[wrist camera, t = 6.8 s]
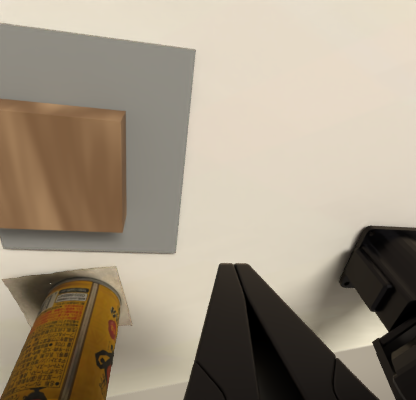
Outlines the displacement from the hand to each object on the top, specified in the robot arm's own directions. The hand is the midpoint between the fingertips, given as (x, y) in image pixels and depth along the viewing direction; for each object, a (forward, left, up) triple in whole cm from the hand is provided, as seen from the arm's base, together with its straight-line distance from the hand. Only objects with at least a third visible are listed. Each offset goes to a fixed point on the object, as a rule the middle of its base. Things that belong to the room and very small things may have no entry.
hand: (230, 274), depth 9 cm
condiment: (+9, +15, -12) cm, 21 cm away
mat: (+7, +2, -12) cm, 14 cm away
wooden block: (+4, +2, -10) cm, 11 cm away
